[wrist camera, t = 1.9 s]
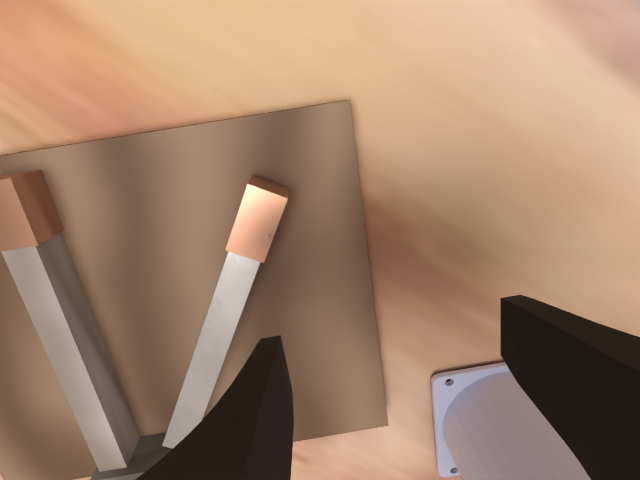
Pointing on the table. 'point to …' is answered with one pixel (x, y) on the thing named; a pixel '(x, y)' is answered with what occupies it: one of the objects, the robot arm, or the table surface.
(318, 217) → the tongs board
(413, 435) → the table surface
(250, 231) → the tong arm
